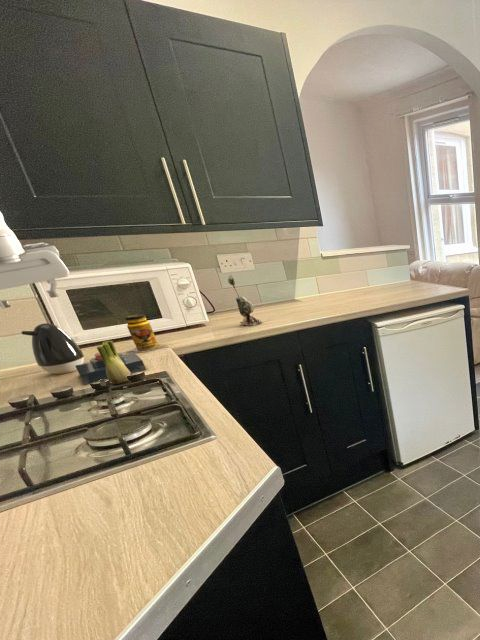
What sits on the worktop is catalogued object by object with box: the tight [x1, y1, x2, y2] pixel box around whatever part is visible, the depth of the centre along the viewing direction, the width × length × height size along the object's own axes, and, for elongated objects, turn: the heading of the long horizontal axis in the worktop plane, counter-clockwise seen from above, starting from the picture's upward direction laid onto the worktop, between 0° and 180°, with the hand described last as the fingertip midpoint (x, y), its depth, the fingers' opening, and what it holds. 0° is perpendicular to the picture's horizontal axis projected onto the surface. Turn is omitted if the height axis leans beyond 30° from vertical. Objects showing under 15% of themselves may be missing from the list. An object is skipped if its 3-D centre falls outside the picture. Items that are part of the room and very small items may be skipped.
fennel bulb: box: [96, 340, 132, 385], centre depth 117 cm, size 6×5×12 cm
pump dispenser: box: [21, 322, 85, 375], centre depth 127 cm, size 10×10×15 cm
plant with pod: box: [227, 274, 262, 327], centre depth 169 cm, size 8×11×20 cm
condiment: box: [124, 313, 164, 353], centre depth 146 cm, size 7×8×12 cm
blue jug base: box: [75, 352, 147, 386], centre depth 126 cm, size 14×12×5 cm
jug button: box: [94, 352, 103, 360], centre depth 125 cm, size 4×4×2 cm
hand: (31, 302), depth 112 cm, fingers open, 8 cm apart
